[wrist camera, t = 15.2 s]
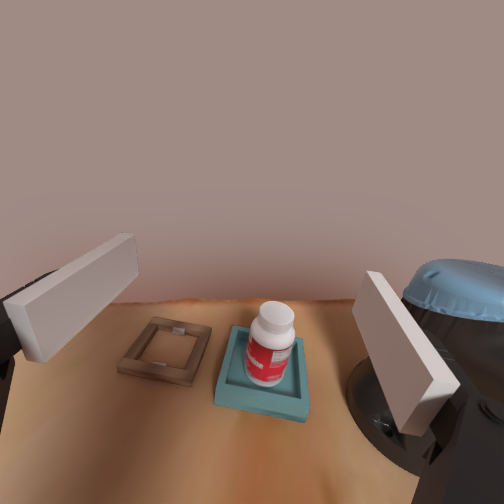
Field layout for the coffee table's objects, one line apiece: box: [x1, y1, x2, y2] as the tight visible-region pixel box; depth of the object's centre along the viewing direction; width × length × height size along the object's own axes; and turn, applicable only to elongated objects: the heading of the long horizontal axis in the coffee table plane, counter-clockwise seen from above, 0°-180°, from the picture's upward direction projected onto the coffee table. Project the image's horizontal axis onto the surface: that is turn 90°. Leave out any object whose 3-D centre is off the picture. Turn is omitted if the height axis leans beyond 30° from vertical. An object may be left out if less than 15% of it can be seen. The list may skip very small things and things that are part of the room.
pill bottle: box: [244, 301, 295, 387], centre depth 34 cm, size 6×6×11 cm
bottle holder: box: [117, 317, 212, 387], centre depth 39 cm, size 11×11×1 cm
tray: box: [214, 325, 310, 423], centre depth 37 cm, size 12×12×3 cm
